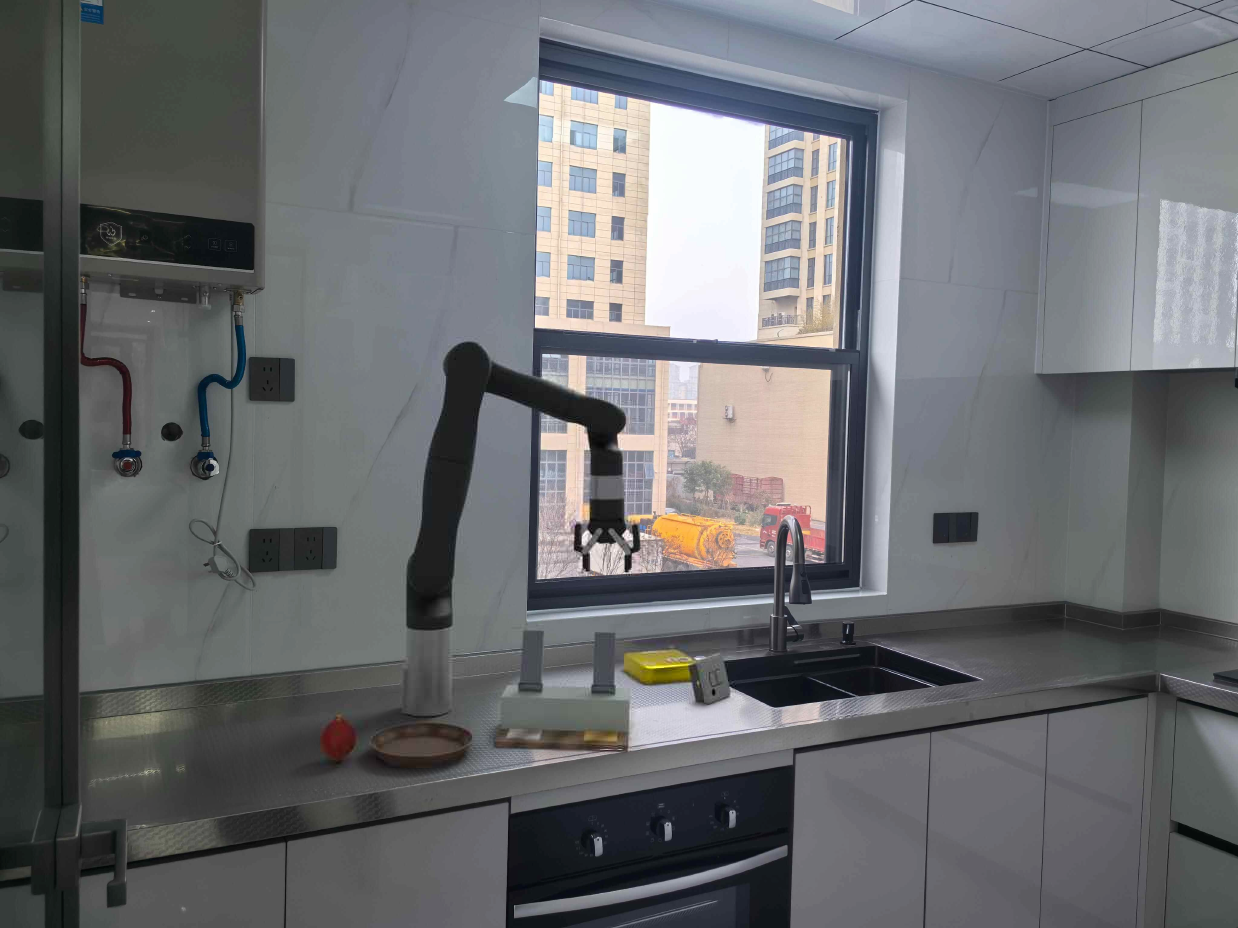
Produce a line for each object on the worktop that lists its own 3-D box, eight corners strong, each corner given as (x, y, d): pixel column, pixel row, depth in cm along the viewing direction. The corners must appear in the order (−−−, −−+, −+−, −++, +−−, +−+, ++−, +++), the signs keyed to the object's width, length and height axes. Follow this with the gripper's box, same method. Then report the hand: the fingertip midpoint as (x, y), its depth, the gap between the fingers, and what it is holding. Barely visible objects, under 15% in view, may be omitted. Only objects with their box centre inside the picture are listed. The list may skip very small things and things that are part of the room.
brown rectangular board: (493, 746, 153) (494, 738, 153) (508, 718, 169) (508, 711, 169) (627, 750, 152) (627, 742, 152) (629, 722, 168) (629, 715, 168)
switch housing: (500, 728, 160) (501, 696, 160) (507, 715, 168) (507, 684, 168) (628, 732, 159) (629, 700, 159) (629, 718, 167) (629, 688, 167)
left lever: (517, 690, 163) (521, 630, 167) (518, 690, 164) (522, 631, 168) (541, 691, 163) (545, 630, 166) (542, 691, 164) (546, 631, 168)
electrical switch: (708, 705, 181) (705, 661, 181) (688, 703, 184) (685, 659, 184) (731, 696, 188) (728, 653, 188) (711, 693, 191) (709, 652, 192)
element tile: (676, 665, 215) (677, 647, 215) (703, 681, 201) (703, 661, 201) (621, 670, 210) (621, 651, 209) (644, 686, 195) (644, 665, 195)
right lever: (591, 692, 162) (593, 631, 166) (591, 692, 164) (593, 633, 168) (615, 693, 162) (616, 632, 166) (615, 693, 164) (617, 633, 168)
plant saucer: (462, 733, 161) (462, 717, 161) (482, 766, 144) (482, 748, 144) (365, 743, 155) (365, 726, 154) (374, 779, 138) (374, 760, 138)
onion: (325, 755, 148) (325, 709, 147) (359, 754, 148) (359, 708, 148) (316, 767, 142) (316, 719, 142) (351, 767, 142) (352, 719, 142)
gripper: (570, 497, 181) (571, 573, 181) (637, 497, 179) (637, 574, 179) (577, 495, 188) (578, 568, 189) (641, 495, 186) (642, 569, 186)
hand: (607, 571), depth 184 cm, fingers open, 8 cm apart
